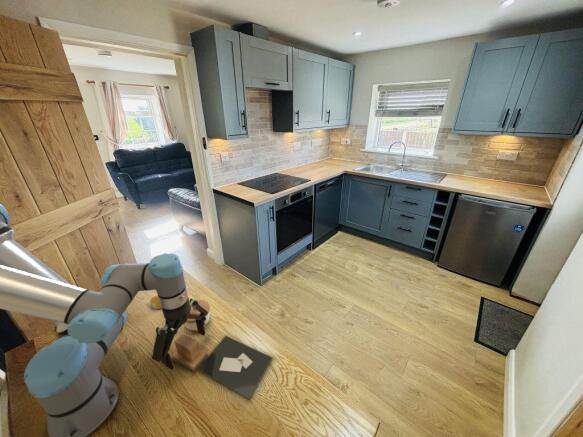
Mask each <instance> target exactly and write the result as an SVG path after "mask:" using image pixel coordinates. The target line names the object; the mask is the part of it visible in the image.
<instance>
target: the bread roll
mask: <svg viewBox="0 0 583 437" xmlns="http://www.w3.org/2000/svg"><path fill="white" fill-rule="evenodd" d="M149 305H150V306H151V308H152V309H155V310H159V309H162V308H161V305H160V301H159V298H158V294H156V295H154V296H152V297H151V298H150V302H149Z"/></svg>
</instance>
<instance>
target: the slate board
mask: <svg viewBox="0 0 583 437" xmlns="http://www.w3.org/2000/svg"><path fill="white" fill-rule="evenodd" d="M272 361H273V357H272V356H270V355H267V354H265V353H263V352H261V351H259V350H258V349H255V348H253V347H251V346H248V345H246V344H245V343H242V342H240V341H238V340H236V339H233V338H231V337H229V336H227V335H225V336H224V337H223V338H222V340H221V341H220V342H219V343H218V344H217V346H216V347H215V348H214V349H213V351H212V352H211V353H210V354H209V355H208V357H207V358H206V359H205V361H204V362H203V363H202V364H201V365H200V367H199V368H198V369H197V371H198V372H200V373H201V374H203V375H205V376H206V377H208V378H210V379H212V380H214V381H215V382H218V384H221V385H222V386H224V387H226V388H228V389H229V390H231V391H233V392H235V393H237V394H238V395H239V396H242V397H243V398H245V399H247V400H250V399H251V397H252V396H253V395H254V393H255V391H256V389H257V387H258V385H259V383H260V382H261V381H262V378H263V377H264V375H265V373H266V372H267V370H268V368H269V366H270V364H271V362H272Z"/></svg>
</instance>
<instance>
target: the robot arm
mask: <svg viewBox="0 0 583 437" xmlns="http://www.w3.org/2000/svg"><path fill="white" fill-rule="evenodd" d="M9 214H10V213H9V211H8V210H7V209H6V208H5V207H4V206H3V205H2V204H1V203H0V309H1V310H5V311H9V312H13V313H17V314H22V315H26V316H30V317H35V318H39V319H44V320H48V321H52V322H54V323H56V325H55V327H54V329H55V331H56V333H57V334H58V338H56V339H55V340H53V341H52V342H51V343H50V345H44V347H41V349H40V350H39V351H37V352H36V353H35V355H34V356H33V357H32V358H31V359H30V361H29V362H28V364H27V365H26V367H25V369H24V372H23V380H24V383H25V385H26V387H27V388H26V389H27V390H28V392H29V395H31V396H33V397H34V398H35V400H36V401H37V402H38V403H39V405H40V406H41V408H42V410H44V412H45V413H46V414H47V427H46V428H47V433H48V436H49V437H90V436H91V435H92V434H94V433H95V432H96V431H97V430H99V429H100V428H101V427H102V426H103V425H104V424H105V423H106V422H107V421H108V419H109V418H110V417H111V416H112V414H113V412H114V411H115V410H116V407H117V406H118V402H119V399H120V390H119V387H118V386H117V384H116V382H115V381H114V380H112V379H110V378H108V377H107V376H104V375H102V373H101V371H100V369H99V367H100V365H101V363H102V362H103V360H104V359H105V357H106V355H107V354H108V353H109V351H110V349H111V348H112V346H113V345H114V343H115V342H116V340H117V339H118V337H119V336H120V335H121V333H122V332H123V330H124V327H125V326H126V323H127V322H128V312H127V309H128V307H129V306H130V305H131V303H132V302H133V300H134V299H135V297H136V296H137V294H138V293H139V292H145V291H156V295H158V298H159V301H160V305H161V308H160V309H161V311H162V315H163V318H164V319H165V320H164V321H165V322H164V324H163V325H162V326H157V327H156V328H155V333H156V336H155V340H154V345H153V351H152V355H151V359H152V360H153V361H155V362H156V363H161V364H163V365H164V366H165V367H166V368H167V369H169V370H171V371H173V370H174V369H175V367H174V363H173V359H172V356H171V354H170V353H169V351H170V349H171V347H172V343H173V342H174V341H173V340H174V338H175V335H177V334H178V331H179V329H180V328H182V326H184V323H186V322H187V319H196V325H197V330H196V331H197V333H198V335H201V336H203V337H205V336H206V329H205V326H206V325H205V322H204V321H205V320H206V317H205V315H207V314H208V312H207V311H206V310H205V309H204V308H202V307H201V306H200V305H199V304H198V301H196V300H197V299H194V298H190V299H189V294H188V290H187V289H188V288H187V284H186V281H185V275H184V270H183V269H184V268H183V266H182V263H181V260H180V257H179V255H177V254H176V253H173V252H164V253H162V254H157V255H155V256H153V257H152V258H151V259H150V260H149V262H145V263H144V262H141V263H140V262H139V263H138V262H137V263H122V264H112V265H110V266H108V267H107V268H106V269H105V270H104V271H103V274H102V276H101V279H100V284H101V288H100V289H99V290H98V291H94V290H92V289H91V290H90V289H87V288H84V287H79V286H76V285H72V284H71V283H70V282H68V281H67V280H66V279H65V278H63V277H62V276H61V275H60V274H58V273H57V271H54V270H53V269H52V268H51V267H49V266H48V265H47V264H45V263H44V261H42V260H41V259H40V258H38V257H36V256H35V255H34V254H33V253H31V251H29V250H28V249H27V248H25V247H24V246H23V245H21V244H20V243H19V242H18V241H16V240H15V239H14V234H15V230H14V229H13V228H12V227H11V226H9V225H10V222H11V216H9ZM189 302H190V303H189ZM191 307H192V308H193V307H194V308H195V309H196V310H198V311H199V312H200V315H199V314H194V313H190V310H191ZM204 325H205V326H204Z"/></svg>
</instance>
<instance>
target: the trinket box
mask: <svg viewBox="0 0 583 437" xmlns="http://www.w3.org/2000/svg"><path fill="white" fill-rule="evenodd" d="M195 300H196V301H198V304H199V305H200V306H201V307H202V308H204V309H205V310H206V311H207V312H208V314H207V315H205V317H206V320H205V321H204V322H205V325H204V327H205V326H207V324H208V322H209V321H210V318H211V307H210V304H209V302H208V301H207V300H205V299H195ZM189 303H190V301H189ZM190 313H194V314H199V315H200V312H199V311H198V310H196V309H195V308H194V307H193V308H192V307H191V310H190ZM183 326H184V327H185V328H186V329H188V330H190V331H198V330H197V325H196V319H187V322H186V323H184V324H183Z"/></svg>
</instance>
